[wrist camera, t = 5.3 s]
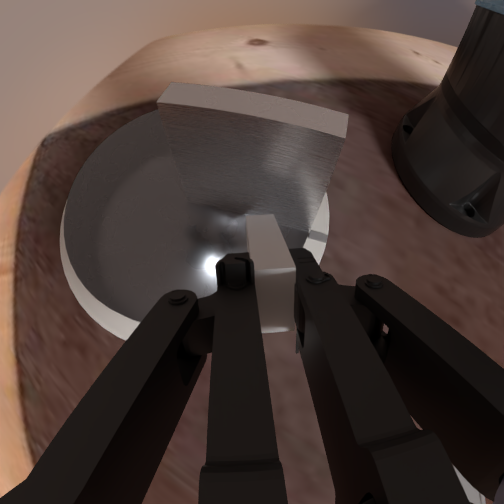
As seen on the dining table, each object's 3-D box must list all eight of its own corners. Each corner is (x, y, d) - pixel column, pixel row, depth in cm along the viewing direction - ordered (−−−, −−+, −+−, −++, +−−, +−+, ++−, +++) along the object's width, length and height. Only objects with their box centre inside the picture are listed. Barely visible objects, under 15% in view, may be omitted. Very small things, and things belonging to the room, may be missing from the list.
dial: (38, 278, 20) (-51, 218, 10) (136, 105, 27) (109, 20, 17) (272, 366, 18) (299, 362, 8) (327, 138, 25) (355, 37, 15)
